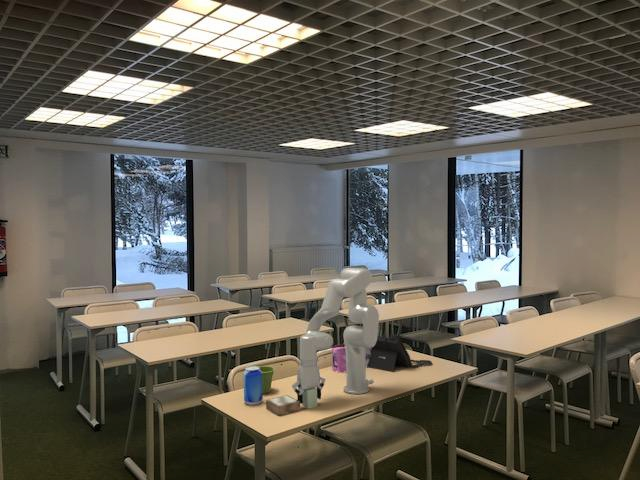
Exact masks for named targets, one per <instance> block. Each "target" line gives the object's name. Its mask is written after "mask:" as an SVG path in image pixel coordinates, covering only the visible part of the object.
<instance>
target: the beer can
mask: <svg viewBox="0 0 640 480" xmlns="http://www.w3.org/2000/svg"><path fill="white" fill-rule="evenodd" d="M243 400H244V402H245V404H246V405H248V406H256V405H259V404H261V403H262V401H263V400H264V399H263V394H262V372H261V370H260V367H258V366H256V365H254V366H253V365H252V366H251V365H250V366H247V367H245V369H244V372H243Z"/></svg>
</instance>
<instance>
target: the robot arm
mask: <svg viewBox="0 0 640 480" xmlns="http://www.w3.org/2000/svg"><path fill="white" fill-rule="evenodd" d="M372 280H373V274H372V272H371V271H370V270H369V269H367V268H360V267H347V268H346V267H345V268H343V269H342V270H341V271H340V278H333V279H331V280H329V282H328V285H327V288H326V292H325V294H324V298H323V301H322V304H321V307H320V309H319V310H318V311H317V312H316V313H315V314H314V315H313V317H311V319H310V320H309V322H308V324H307V327H306V330H305V334H303V335H302V334H301V336H300V337H299V358H300V359H299V362H300V363H299V366H298V368H297V375H296V382H295V383H293V384H291V387H292V390H293V391H294V392H295V393H296V396H297V397H296V398H297V399H296V400H298V401H300V405H302V403H303V395H302V392H303V391H304V390H306V389H311V388H317V400H318V399H319V400H321V399H322V390H323V387H324V386H325V383H326V378H323V377H322V376H321V374H320V369H319V365H318V362H319V361H320V360H319V358H318V354H317V352H318V351H324V350H325V351H326V350H328V349H330V348H332V346H334V338H333V337H332V335H331V334H330V333H327V332H323V331H320V329H321V327H322V326H323V325H324V323H326V321H327V320H330V319H332V318H334V317H335V316H338V315H339V314H340V313H339V312H340V309H341V307H342V303H343V299H344V298H349V302H348V314H347V315H348V320H349V321H350V322H352V323H355V324H360V325H362V326H360V325H354V324H353V325H349V326H347V327H345V329H344V331H343V344H345V348H346V372H345V374H346V375H345V376H346V377H345V378H346V385H345V386H344V387H343V391H344V392H345V393H347V394H353V395H360V394H365V393H368V392H369V391H370V386H369V385H372V384H374V383H375V382H374V379H370V380H369V379H367V372H366V371H367V370H366V369H367V367H366V357H365V351H364V348H372V347H374V346H375V344H376V342H377V336H379V335H378V333H379V322H380V314H379V310H378V308H376V307H375V306H374V305H372V304H368V294H367V293H368V291H367V289H366V288H367V287H368V286H370V284H371V282H372ZM363 347H364V348H363Z"/></svg>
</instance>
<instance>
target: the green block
mask: <svg viewBox="0 0 640 480" xmlns="http://www.w3.org/2000/svg"><path fill="white" fill-rule="evenodd" d="M302 395H303V403H302V404H301V406H302V407H304V408H306V409H311V408H312V409H313V408H315V407H318V398H317V388H316V387H315V388H311V389H306V390H304V391H303V392H302Z"/></svg>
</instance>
